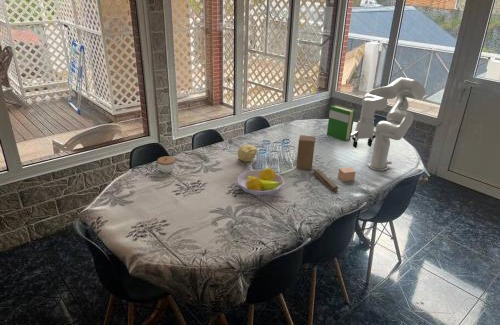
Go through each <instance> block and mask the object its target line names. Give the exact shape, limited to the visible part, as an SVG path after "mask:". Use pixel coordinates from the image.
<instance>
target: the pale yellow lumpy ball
mask: <svg viewBox="0 0 500 325" xmlns="http://www.w3.org/2000/svg"><path fill="white" fill-rule="evenodd" d="M257 151H258V149H257V147H256V146H255V145H254V146H253V145H251V144H244V145H240V147H239V149H238V151H237V157H238V159H239V160H240V161H242V162H244V163H250V162H252V161H253V160H254V159H255V157H256V155H257V154H258V152H257ZM256 153H257V154H256Z"/></svg>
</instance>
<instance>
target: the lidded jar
mask: <svg viewBox="0 0 500 325" xmlns="http://www.w3.org/2000/svg"><path fill="white" fill-rule="evenodd" d="M156 163H157V167H158V170H159V171H160V172H161V173H163V174H170V173H172V172H173V171H174V169H175V168H176V159H175V157H174V156H166V155H165V156H161V157H158V158H157V160H156Z"/></svg>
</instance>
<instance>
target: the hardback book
mask: <svg viewBox="0 0 500 325" xmlns="http://www.w3.org/2000/svg"><path fill="white" fill-rule="evenodd" d="M329 107H330V108H329V114H328V115H329V116H328V122H327V129H326V136H329V137H330V138H333V139H337V140H339V141H343V142H346V141H347V140H351V139H352V138H351V134H352V133H353V125H354V119H355V115H356V109H353V108H349V107H346V106H342V105H338V104H334V105H333V104H332V105H330V106H329Z"/></svg>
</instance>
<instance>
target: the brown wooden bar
mask: <svg viewBox="0 0 500 325" xmlns="http://www.w3.org/2000/svg"><path fill="white" fill-rule="evenodd" d="M313 174H314V175H315V176H316V177H317V179H318V180H320V181H321V182H322V183H323V184H324V185H325V186H326V187H327V188H328V189H329V190H330V191H331V193H332V192H334V193H335V192H338V189H339V186H338V185H337V184H336V183H335V182H334V181H333V180H331V179H330V177H328V176H327V175H326V174H325V173H324V172H323V171H322V170H321V169H319V168H314V169H313Z"/></svg>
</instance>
